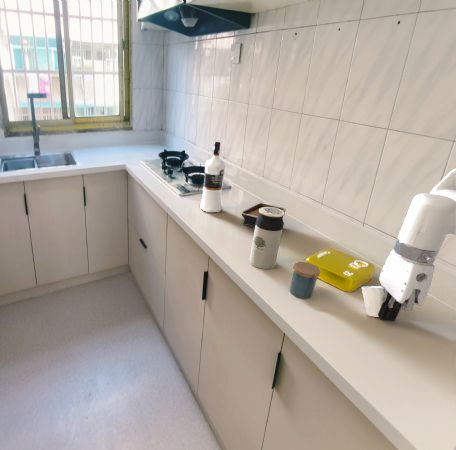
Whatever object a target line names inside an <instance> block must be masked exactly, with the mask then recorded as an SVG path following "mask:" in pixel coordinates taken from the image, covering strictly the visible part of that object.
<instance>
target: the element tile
mask: <svg viewBox="0 0 456 450" xmlns="http://www.w3.org/2000/svg"><path fill="white" fill-rule="evenodd" d="M305 260H306V261H305V262H307V263H311V264H313V265H315V266H317V267H318V268H319V269H320V274H319V276H318V277H317V280H320V281H323V282H325V284H326V283H327V284H329V285H330V286H333V287H335V288H337V289H339V290H341V291H343V292H346V293H353V292H354V291H356V290H358V289H360V287H363V285H365V284H366V283H368V282H369V281H371V280H372V278H373V275H374V273H375V270H376V266H375V264H373V263H370V262H368V261H365V260H363V259H361V258H358V257H355V256H354V255H350V254H348V253H347V252H343V251H342V250H339V249H336V248H334V247H326V248H324V249H322V250H320V251H317V252H316V253H314V254H311V255H310V256H308V257H307V258H306V259H305Z"/></svg>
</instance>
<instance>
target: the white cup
mask: <svg viewBox="0 0 456 450" xmlns="http://www.w3.org/2000/svg"><path fill="white" fill-rule="evenodd" d="M361 291H362V296H363V302H364V303H363V304H364V307H365V313H366V316H368V317H376V318H380V317H379V316H378V313H379V310H380V308H381V306H382V303H383V302H384V301H383V300H382V298H383V295H384V288H382V286H381V285H365V286H361Z"/></svg>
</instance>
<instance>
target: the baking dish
mask: <svg viewBox="0 0 456 450" xmlns="http://www.w3.org/2000/svg"><path fill="white" fill-rule="evenodd" d="M262 207H273V208H278V209H280V210H282V211H284V212H285V213H286V210H287V208H286V207H282V206H278V205H274V204H270V203H265V202H258V203H256V204H254V205H253V206H251V207H249V208H247V209H244V210H243V211H241V212H240V215H241V216H242V218H243V222H242V225H243V226H251V227H252V228H254V229H255V226H256V220H257V218H258V217H259V215H260V212H259V209H260V208H262ZM282 219H283V220H284V217H283V218H282Z"/></svg>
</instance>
